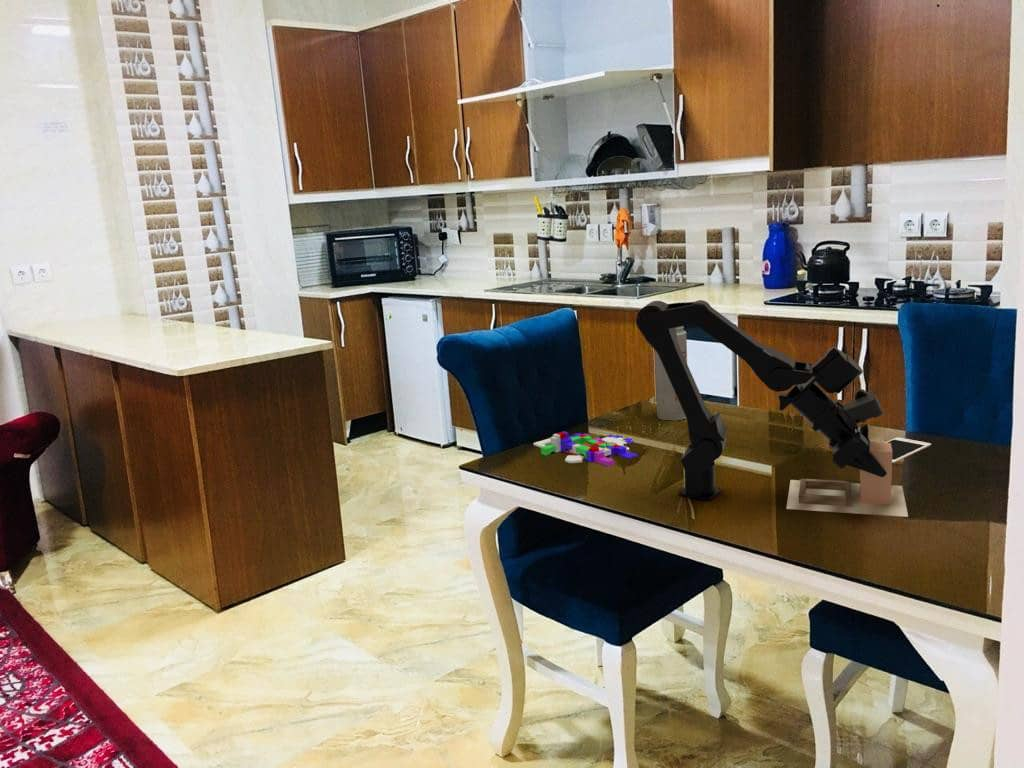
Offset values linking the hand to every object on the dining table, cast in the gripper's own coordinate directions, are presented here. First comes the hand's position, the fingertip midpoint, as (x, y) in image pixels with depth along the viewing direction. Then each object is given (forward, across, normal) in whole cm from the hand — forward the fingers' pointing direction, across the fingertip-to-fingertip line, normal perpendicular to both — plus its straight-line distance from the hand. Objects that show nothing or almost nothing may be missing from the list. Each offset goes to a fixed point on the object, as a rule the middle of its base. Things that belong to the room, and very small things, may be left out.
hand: (884, 470), depth 151 cm
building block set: (-38, +24, +49) cm, 67 cm away
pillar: (+3, 0, +5) cm, 6 cm away
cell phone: (+8, +32, +2) cm, 33 cm away
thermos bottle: (-29, +52, +38) cm, 71 cm away
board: (0, 0, +9) cm, 9 cm away
